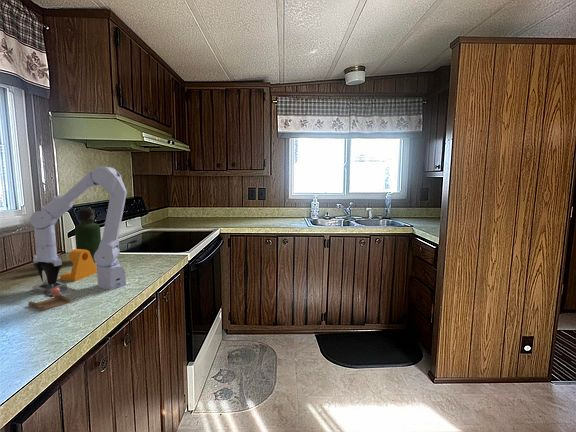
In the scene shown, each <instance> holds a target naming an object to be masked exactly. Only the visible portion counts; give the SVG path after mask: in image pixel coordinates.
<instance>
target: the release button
mask: <svg viewBox="0 0 576 432" xmlns="http://www.w3.org/2000/svg"><path fill="white" fill-rule="evenodd" d="M55 294H61V292H60V288H58V287H57V288H52V289H51V294H50V295H52V296H54V295H55Z"/></svg>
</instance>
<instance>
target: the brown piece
mask: <svg viewBox="0 0 576 432" xmlns="http://www.w3.org/2000/svg"><path fill="white" fill-rule="evenodd" d="M53 296H54V297H52V298H51V297H50V298H49V299H48V298H47V299H45V300H42V301H38V302H35V301H33V300H32V301H28V302H27V303H28V304H27V305H28V307H31V308H32V309H34V310H37V311H40V312H45V311H48V310H51V309H54V308H58V307H60V306H64V305H67V304H69V303H71V298H70V297H67V296H64V295H63V294H62V295H59V294H55V295H53Z"/></svg>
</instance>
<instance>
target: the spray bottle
mask: <svg viewBox="0 0 576 432" xmlns="http://www.w3.org/2000/svg"><path fill="white" fill-rule="evenodd" d="M77 217H78V220H79V222H81V223H79V224H77V225H76V226H74V236H75V237H74V238H75V249H83V250H88V251H89V252H90V254H91V256H92V259H93V261H94V254H95V252H96V251H97V250H98V248H99V244H100V242H101V240H102V237H101V227H100V225H99V224H98V223H96V222H95V220H96V212H95V210H94V208H91V207H85V208H79V210H78V212H77ZM94 262H95V261H94Z"/></svg>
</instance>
